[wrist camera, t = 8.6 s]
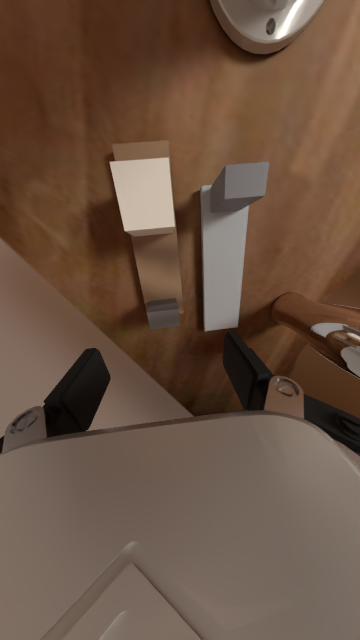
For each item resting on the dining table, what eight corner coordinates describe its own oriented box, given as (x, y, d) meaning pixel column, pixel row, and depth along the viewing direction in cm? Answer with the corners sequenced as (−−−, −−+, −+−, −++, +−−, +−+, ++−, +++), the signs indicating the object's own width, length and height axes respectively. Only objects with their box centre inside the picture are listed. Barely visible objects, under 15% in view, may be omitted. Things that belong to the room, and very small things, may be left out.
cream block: (124, 186, 17) (109, 161, 12) (168, 183, 17) (168, 157, 12) (134, 236, 19) (124, 231, 14) (172, 233, 19) (175, 226, 14)
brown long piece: (114, 150, 16) (88, 97, 11) (168, 146, 16) (169, 92, 11) (148, 314, 24) (143, 332, 19) (183, 310, 25) (187, 326, 19)
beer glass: (270, 330, 28) (367, 402, 15) (264, 299, 25) (379, 353, 12) (305, 316, 27) (441, 377, 14) (304, 282, 25) (473, 319, 11)
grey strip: (200, 189, 18) (214, 161, 13) (246, 185, 18) (280, 156, 13) (203, 328, 27) (213, 347, 21) (235, 324, 27) (252, 342, 21)
